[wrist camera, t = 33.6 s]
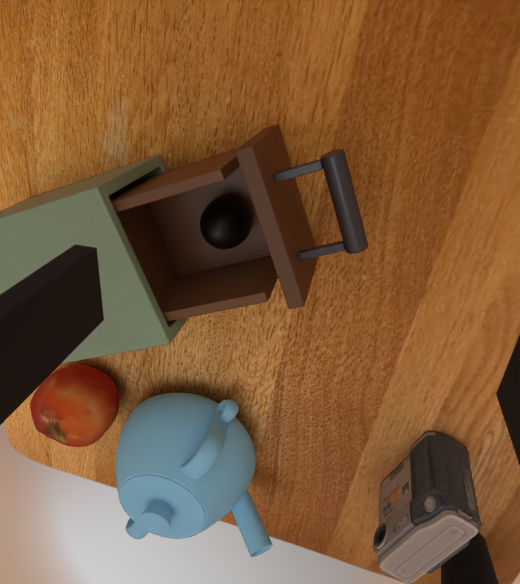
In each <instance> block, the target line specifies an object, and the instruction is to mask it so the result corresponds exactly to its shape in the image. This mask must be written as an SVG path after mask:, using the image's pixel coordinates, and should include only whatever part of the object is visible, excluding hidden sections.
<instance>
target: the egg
mask: <svg viewBox="0 0 520 584" xmlns="http://www.w3.org/2000/svg"><path fill="white" fill-rule="evenodd" d="M251 228H252V215H251V212H250V210H249V208H248V206H247V205H246V204H245V203H244V202H243V201H242V200H240V199H238V198H236V197H233V196H222V197H218V198H216V199H214V200H213V201H211V202H210V203H209V204H208V205H207V206H206V207H205V209H204V211H203V213H202V215H201V219H200V230H201V233H202V236H203V238H204V239H205V241H206V242H207V243H208V244H210V245H211V246H213V247H215V248H218V249H230V248H234V247H236V246H238V245H240V244H241V243H242V242H243V241H244V240H245V239H246V238H247V237H248V235H249V233H250V231H251Z"/></svg>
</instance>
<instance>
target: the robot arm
mask: <svg viewBox="0 0 520 584" xmlns="http://www.w3.org/2000/svg"><path fill="white" fill-rule="evenodd" d="M103 320H104V315H103V305H102V295H101V285H100V275H99V266H98V256H97V248H94V247H88V246H82V245H76V244H75V245H73V246H72V247H71V248H69V249H68V250H66V251H65V252H63V253H62V254H60V255H59V256H57V257H56V258H54V259H53V260H51V261H50V262H48V263H47V264H45V265H44V266H42V267H41V268H39V269H38V270H36V271H35V272H33V273H32V274H30V275H29V276H27V277H26V278H24V279H23V280H21V281H20V282H18V283H17V284H15V285H14V286H12V287H11V288H9V289H8V290H6V291H5V292H3V293H2V294H0V425H1V424H2V423H3V422H4V421H5V420H6V419H7V418H8V417H9V416H10V415H11V414H12V413H13V412H14V411H15V410H16V409H17V408H18V407H19V406H20V405H21V404H22V403H23V402H24V401H25V399H26V398H27V397H28V396H29V395H30V394H31V393H32V392H33V391H34V390H35V389H36V388H37V387H38V386H39V385H40V384H41V383H42V382H43V381H44V380H45V379H46V378H47V377H48V376H49V375H50V374H51V373H52V372H53V371H54V370H55V369H56V368H57V367H58V366H59V365H60V364H61V363H62V362H63V361H64V360H65V359H66V358H67V357H68V356H69V355H70V354H71V353H72V352H73V351H74V350H75V349H76V348H77V347H78V346H79V345H80V344H81V343H82V342H83V341H84V340H85V339H86V338H87V337H88V336H89V335H90V334H91V333H92V332H93V331H94V330H95V329H96V328H97V327H98V326H99V325H100V323H101V322H102V321H103ZM496 395H497V398H498V401H499V404H500V407H501V410H502V413H503V416H504V419H505V422H506V425H507V428H508V431H509V434H510V437H511V440H512V443H513V446H514V449H515V452H516V455H517V458H518V461H519V465H520V336H519V338H518V341H517V343H516V346H515V348H514V351H513V353H512V356H511V358H510V361H509V363H508V366H507V368H506V371H505V373H504V376H503V378H502V381H501V383H500V386H499V388H498V391H497V393H496Z"/></svg>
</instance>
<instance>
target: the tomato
mask: <svg viewBox="0 0 520 584" xmlns="http://www.w3.org/2000/svg"><path fill="white" fill-rule="evenodd" d="M118 407H119V395H118V390H117V388H116V386H115V384H114V382H113V380H112V379H111V378H110V377H109V376H108V375H107V374H105V373H104V372H102V371H101V370H99V369H95V368H92V367H90V366H87V365H76V366H70V367H67V368H62V369H59V370H57V371H55V372H54V373H53V374H51V375H50V376H49V377H48V378H47V379H46V380H45V381H44V382H43V383H42V384H41V385H40V386H39V388H38V389H37V390H36V392H35V394H34V395H33V397H32V400H31V406H30V408H31V414H32V418H33V422H34V424H35V427H36V429H37V430H38V431H39V432H41V433H43V434H44V435H46V436H47V437H49V438H51V439H54V440H56V441H58V442H60V443H62V444H64V445H67V446H73V447H84V446H88V445H91V444H93V443H95V442H96V441H97V440H98V439H99V438H100V437H101V436H102V435H103V434H104V433H105V432H106V431H107V430H108V428H109V427H110V426H111V425H112V423H113V421H114V420H115V418H116V415H117V413H118Z"/></svg>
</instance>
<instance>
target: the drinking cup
mask: <svg viewBox="0 0 520 584" xmlns="http://www.w3.org/2000/svg"><path fill="white" fill-rule="evenodd" d="M441 584H499V583H498V580H497V577H496V574H495V570H494V567H493V564H492V561H491V558H490V555H489V551H488V548H487V545H486V542H485V540H484V538H483V537H482V536H481V535H480V534H479V533H477V534H476V535H475V536H474V537H473V538H471V539H470V543H469V545H468V546H467V547H465V548H464V549H462V550H461V551H460V552H458V553H457V554H456V555H454V556H453V557H452V558H451V559H449V560H448V561H446V562H445V563H444V564H443V565H441Z"/></svg>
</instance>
